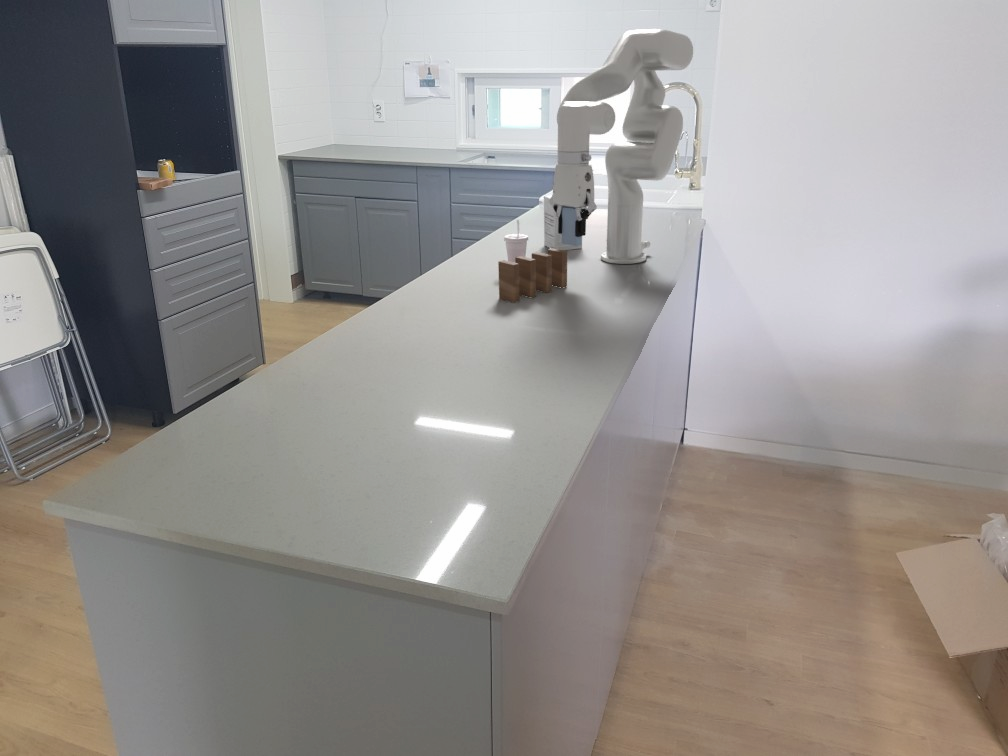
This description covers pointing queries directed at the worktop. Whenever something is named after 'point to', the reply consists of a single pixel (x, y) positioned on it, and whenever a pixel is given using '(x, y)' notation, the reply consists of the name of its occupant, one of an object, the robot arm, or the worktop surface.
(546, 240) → the supplement box
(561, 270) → the tile
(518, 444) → the worktop surface
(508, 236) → the smoothie
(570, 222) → the tile
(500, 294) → the tile
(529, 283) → the tile
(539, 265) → the tile
